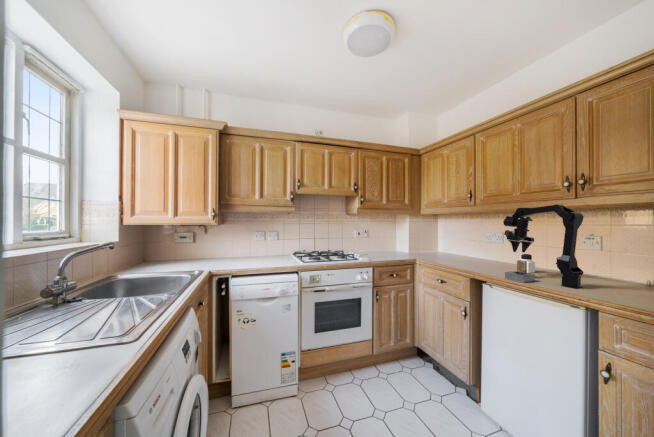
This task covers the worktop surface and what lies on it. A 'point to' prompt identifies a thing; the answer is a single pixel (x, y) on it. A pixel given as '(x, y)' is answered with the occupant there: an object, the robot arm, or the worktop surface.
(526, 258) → the medicine bottle
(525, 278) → the well block
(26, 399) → the worktop surface
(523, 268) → the brown tall square block
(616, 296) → the worktop surface
